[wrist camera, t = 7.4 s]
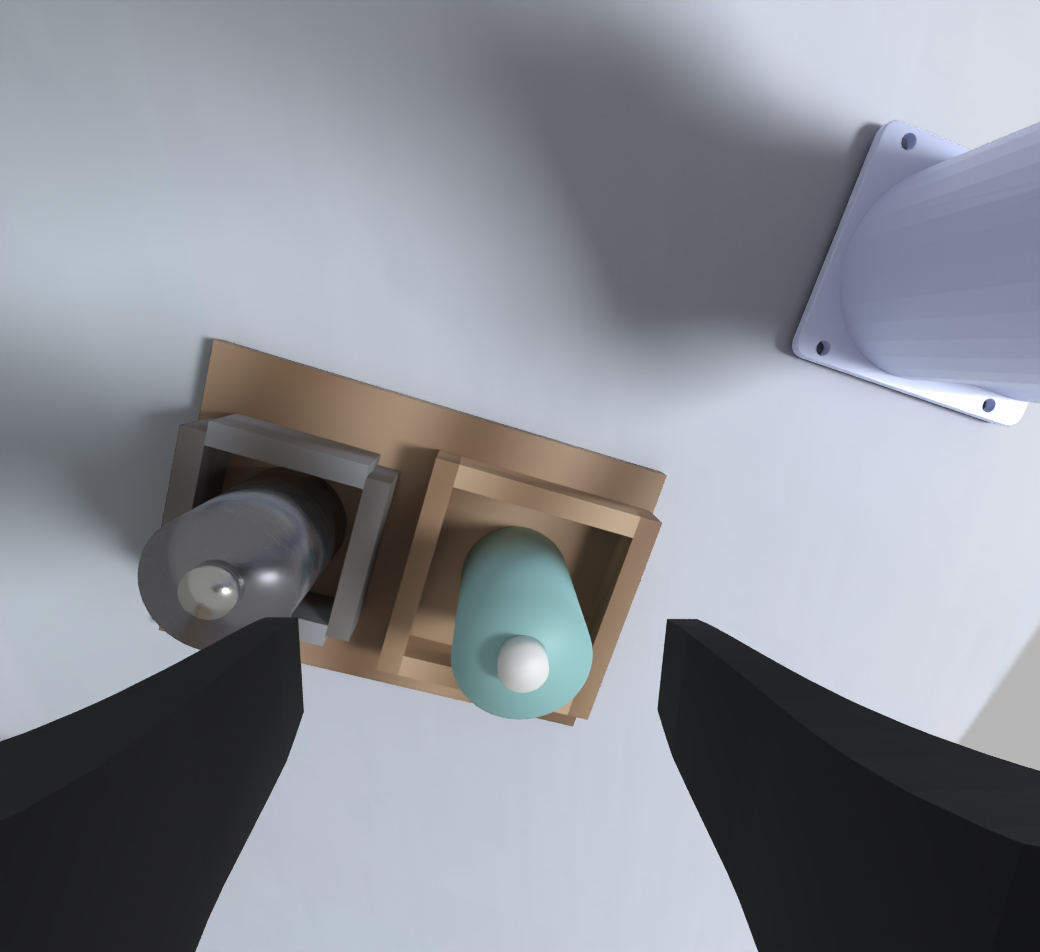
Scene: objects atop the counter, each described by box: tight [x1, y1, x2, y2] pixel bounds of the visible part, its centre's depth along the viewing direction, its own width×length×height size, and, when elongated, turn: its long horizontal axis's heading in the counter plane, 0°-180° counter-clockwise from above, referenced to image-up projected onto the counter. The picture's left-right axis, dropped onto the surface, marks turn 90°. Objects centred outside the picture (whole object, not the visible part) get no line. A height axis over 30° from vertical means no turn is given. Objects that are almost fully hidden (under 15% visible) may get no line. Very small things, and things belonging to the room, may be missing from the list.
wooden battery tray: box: [159, 340, 666, 726], centre depth 20 cm, size 16×11×3 cm
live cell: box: [451, 527, 593, 719], centre depth 18 cm, size 4×4×6 cm
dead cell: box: [138, 467, 347, 650], centre depth 17 cm, size 4×4×6 cm
